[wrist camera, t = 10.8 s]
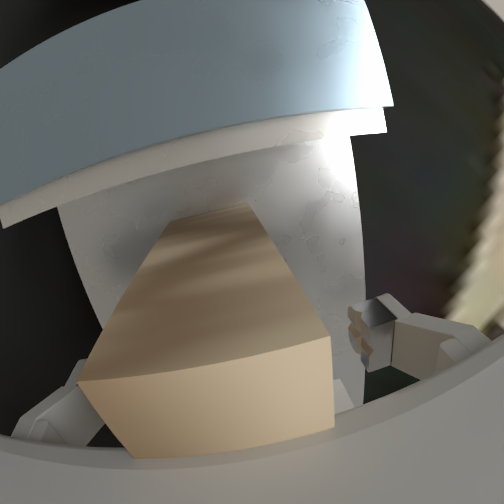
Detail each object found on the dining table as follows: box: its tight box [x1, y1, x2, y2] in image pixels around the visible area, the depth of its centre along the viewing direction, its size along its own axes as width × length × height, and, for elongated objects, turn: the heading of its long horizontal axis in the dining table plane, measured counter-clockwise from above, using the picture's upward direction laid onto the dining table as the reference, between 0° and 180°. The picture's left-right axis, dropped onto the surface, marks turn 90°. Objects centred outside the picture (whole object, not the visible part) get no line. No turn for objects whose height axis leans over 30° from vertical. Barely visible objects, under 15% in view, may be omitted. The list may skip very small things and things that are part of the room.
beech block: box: [76, 203, 335, 459], centre depth 9 cm, size 4×7×10 cm, turn 12°
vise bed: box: [0, 0, 393, 407], centre depth 12 cm, size 14×24×9 cm, turn 11°
